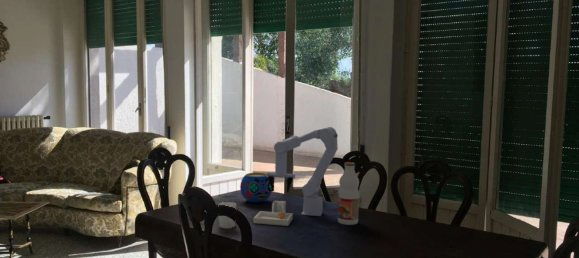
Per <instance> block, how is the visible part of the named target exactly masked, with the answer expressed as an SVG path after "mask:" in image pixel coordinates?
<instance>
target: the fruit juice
mask: <svg viewBox="0 0 579 258" xmlns="http://www.w3.org/2000/svg"><path fill="white" fill-rule="evenodd" d="M343 165H344V170H343V173H342V175H341V176H340V178H339V181H338V184H339V190H338V204H337V205H338V206H337V222H338V223H339V224H341V225H347V226H353V225H354V226H355V225H357V224H359V223H358V222H359V211H360V209H359V207H360V206H359V205H360V192H359V186H360V185H359V184H360V179H359V178H358V176H357V174H356V170H355V167H356V163H355V162H351V161H345V162H344V164H343Z"/></svg>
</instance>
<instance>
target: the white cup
mask: <svg viewBox="0 0 579 258" xmlns="http://www.w3.org/2000/svg"><path fill="white" fill-rule="evenodd" d="M219 205H225V206H229V207H233V208H235V209H236V210H237V203H236V202H232V201H227V202H225V201H222V202H220V203H218V206H219ZM218 220H219V228H221V229H232V227H233V228H235V227H234V226H236V221H235V222H234V221H233V220H232V219H230V218H228V217H226V216H219V215H218Z"/></svg>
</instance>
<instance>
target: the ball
mask: <svg viewBox="0 0 579 258" xmlns="http://www.w3.org/2000/svg"><path fill="white" fill-rule="evenodd" d="M285 213H286V212H285ZM285 213H284V212H280V213H279V217H280V218H284V217H285Z"/></svg>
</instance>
